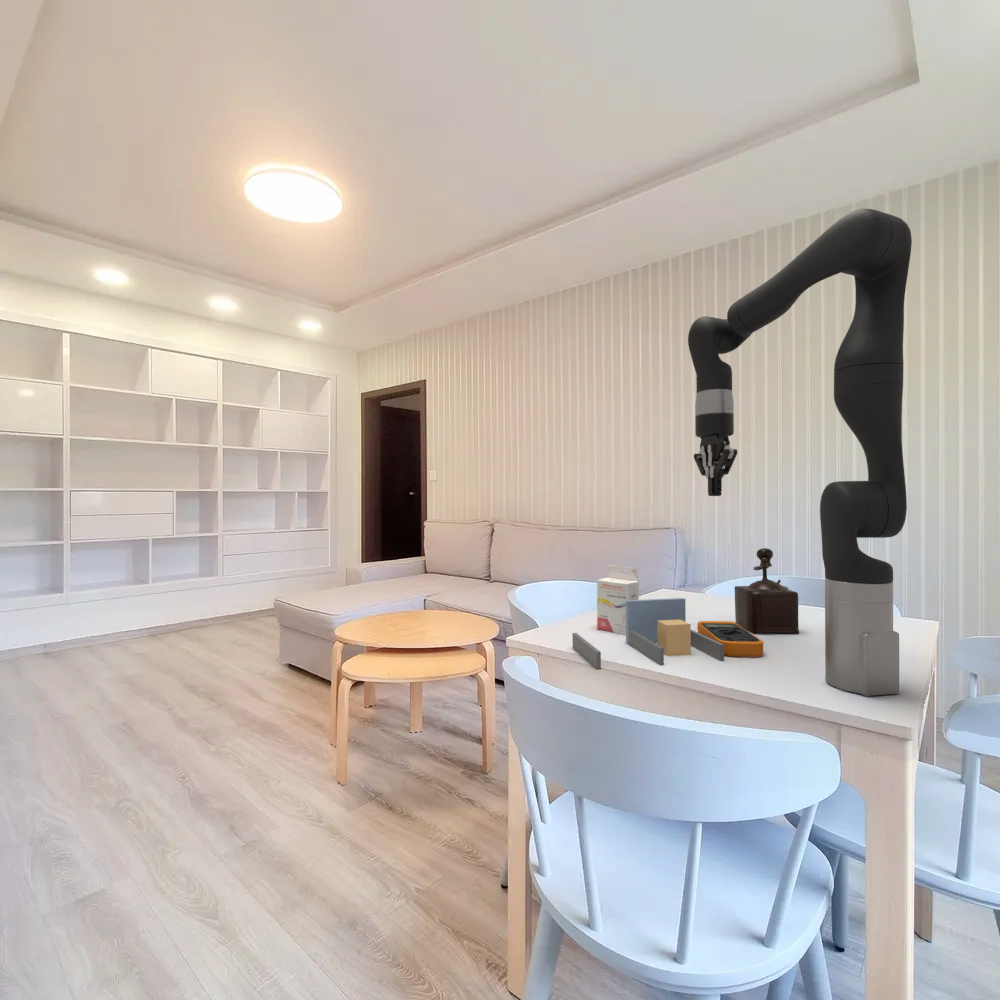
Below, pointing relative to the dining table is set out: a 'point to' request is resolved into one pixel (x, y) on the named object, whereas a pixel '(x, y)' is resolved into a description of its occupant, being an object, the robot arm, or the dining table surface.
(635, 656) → the dining table surface
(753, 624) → the manual coffee grinder
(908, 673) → the dining table surface
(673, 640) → the tan wooden cube
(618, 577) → the ink cartridge box
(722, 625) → the multimeter
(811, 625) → the dining table surface
